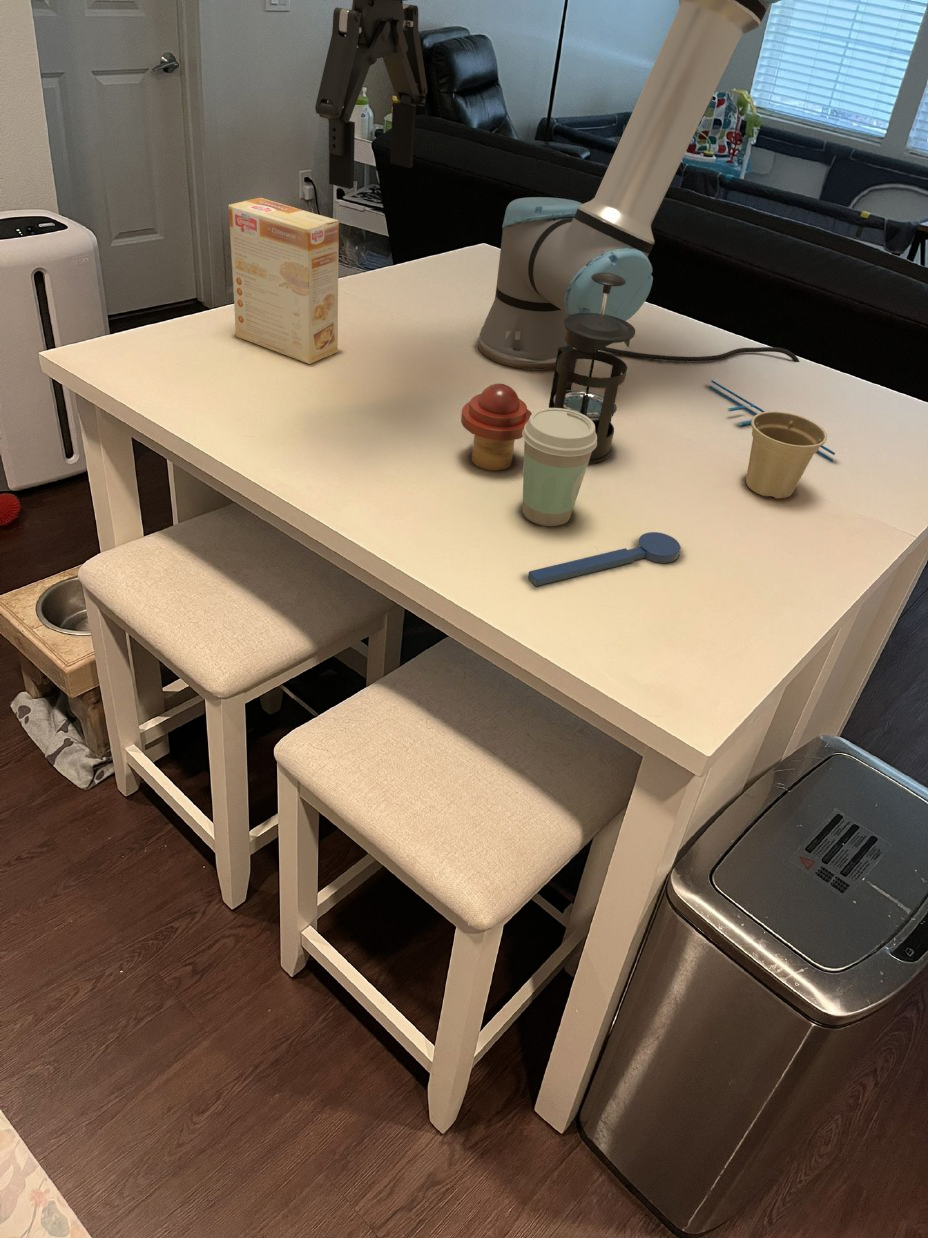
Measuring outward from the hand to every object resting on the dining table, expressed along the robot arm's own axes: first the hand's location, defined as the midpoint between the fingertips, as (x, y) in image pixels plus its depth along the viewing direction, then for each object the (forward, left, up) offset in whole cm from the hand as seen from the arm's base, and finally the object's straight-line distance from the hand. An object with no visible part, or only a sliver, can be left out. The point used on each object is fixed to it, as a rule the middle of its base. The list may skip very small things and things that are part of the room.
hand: (372, 175), depth 107 cm
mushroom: (-11, +16, -31) cm, 36 cm away
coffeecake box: (+2, -26, -31) cm, 40 cm away
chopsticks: (-54, +19, -31) cm, 65 cm away
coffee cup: (-11, +30, -31) cm, 44 cm away
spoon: (-12, +41, -31) cm, 53 cm away
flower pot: (-43, +34, -31) cm, 63 cm away
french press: (-24, +16, -31) cm, 42 cm away
